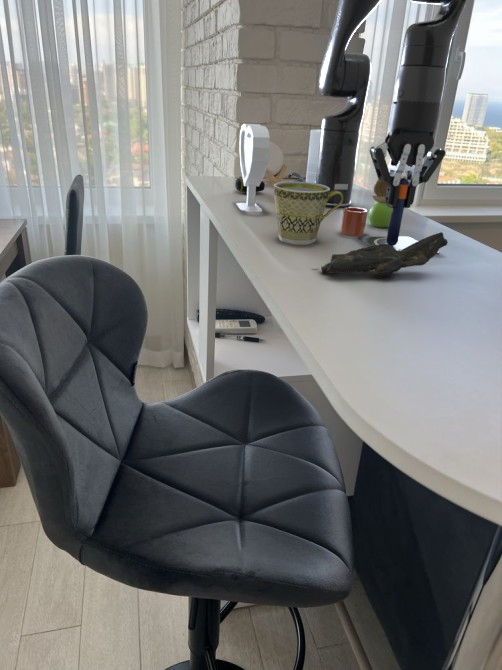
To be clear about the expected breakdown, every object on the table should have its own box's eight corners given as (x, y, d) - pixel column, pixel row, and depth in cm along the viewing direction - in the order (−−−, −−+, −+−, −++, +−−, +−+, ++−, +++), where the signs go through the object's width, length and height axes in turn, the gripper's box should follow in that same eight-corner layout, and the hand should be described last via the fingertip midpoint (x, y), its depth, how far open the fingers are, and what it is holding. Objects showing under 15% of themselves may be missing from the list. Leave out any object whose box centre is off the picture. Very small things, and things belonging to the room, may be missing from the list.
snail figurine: (398, 232, 104) (409, 172, 99) (366, 229, 105) (375, 169, 100) (396, 226, 109) (407, 168, 103) (366, 223, 110) (375, 166, 104)
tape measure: (265, 194, 134) (266, 179, 132) (242, 195, 130) (243, 180, 129) (252, 189, 139) (253, 175, 137) (230, 190, 136) (231, 176, 134)
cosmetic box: (323, 183, 153) (329, 128, 146) (340, 187, 149) (347, 130, 142) (304, 185, 148) (309, 128, 141) (320, 189, 144) (326, 131, 137)
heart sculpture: (234, 201, 123) (237, 121, 115) (254, 201, 124) (258, 122, 116) (246, 216, 110) (250, 127, 102) (268, 216, 111) (274, 128, 103)
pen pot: (337, 232, 102) (340, 207, 100) (358, 231, 103) (361, 207, 101) (345, 238, 98) (349, 212, 96) (367, 237, 99) (371, 212, 97)
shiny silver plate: (356, 239, 97) (357, 236, 97) (408, 239, 100) (409, 235, 99) (382, 257, 88) (383, 253, 87) (439, 256, 90) (439, 252, 90)
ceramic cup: (275, 248, 89) (280, 191, 85) (265, 233, 98) (269, 180, 93) (346, 249, 91) (354, 192, 87) (329, 234, 100) (336, 182, 95)
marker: (383, 244, 93) (395, 176, 87) (393, 243, 93) (406, 176, 88) (388, 247, 91) (400, 178, 86) (399, 247, 91) (412, 179, 86)
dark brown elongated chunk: (329, 297, 76) (453, 271, 78) (329, 266, 73) (458, 239, 75) (317, 277, 81) (433, 253, 83) (316, 246, 78) (437, 222, 80)
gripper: (442, 100, 86) (422, 202, 94) (367, 96, 83) (353, 202, 91) (468, 101, 80) (444, 212, 87) (388, 97, 77) (371, 212, 84)
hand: (398, 206), depth 89 cm, fingers closed on marker, 2 cm apart
